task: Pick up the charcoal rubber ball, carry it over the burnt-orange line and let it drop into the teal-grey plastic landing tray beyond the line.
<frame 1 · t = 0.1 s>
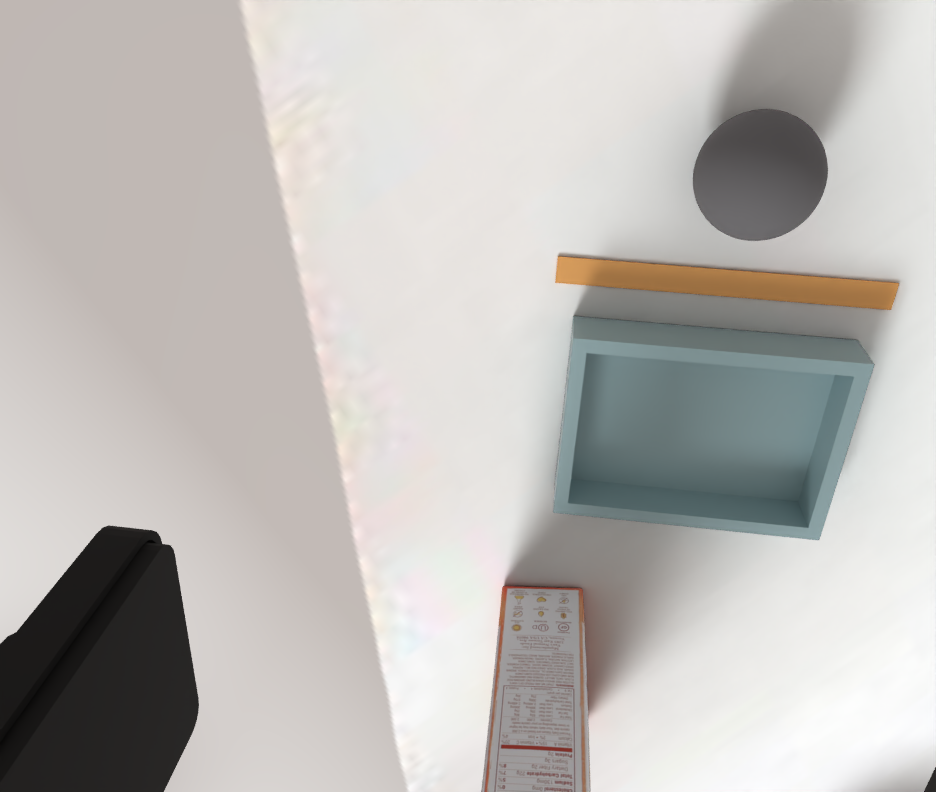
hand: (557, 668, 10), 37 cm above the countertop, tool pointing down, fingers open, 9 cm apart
ball: (747, 161, 42), on the countertop
landing tray: (695, 417, 49), on the countertop
cracker box: (546, 655, 60), on the countertop
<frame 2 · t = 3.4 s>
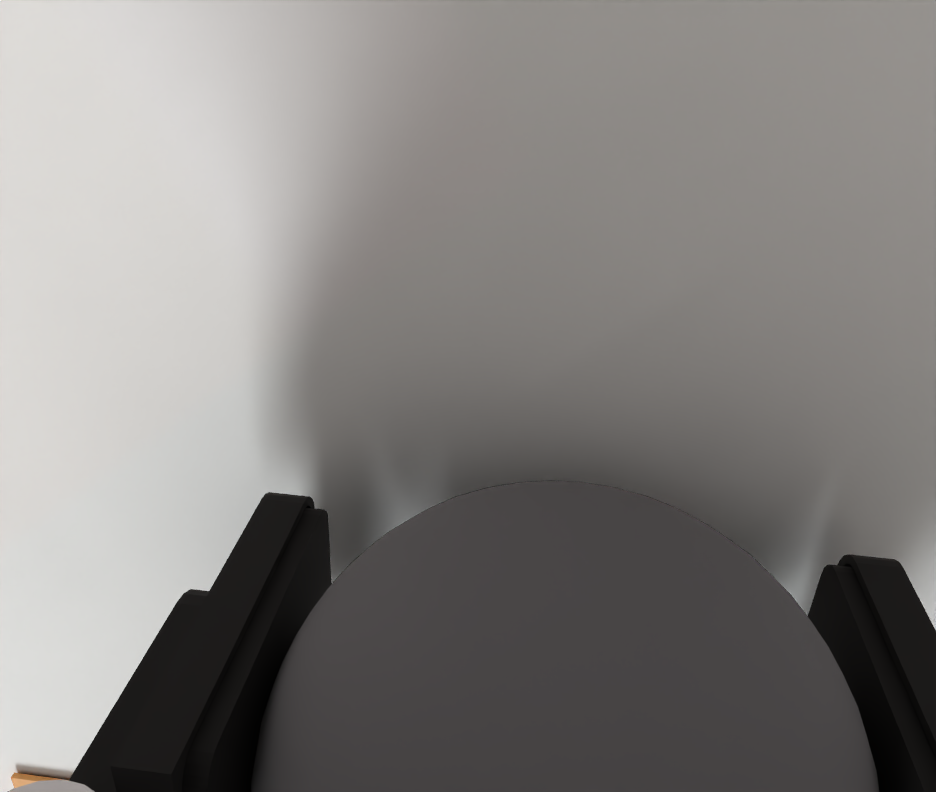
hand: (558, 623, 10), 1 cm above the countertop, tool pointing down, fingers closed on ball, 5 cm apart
ball: (560, 578, 11), on the countertop, touching gripper
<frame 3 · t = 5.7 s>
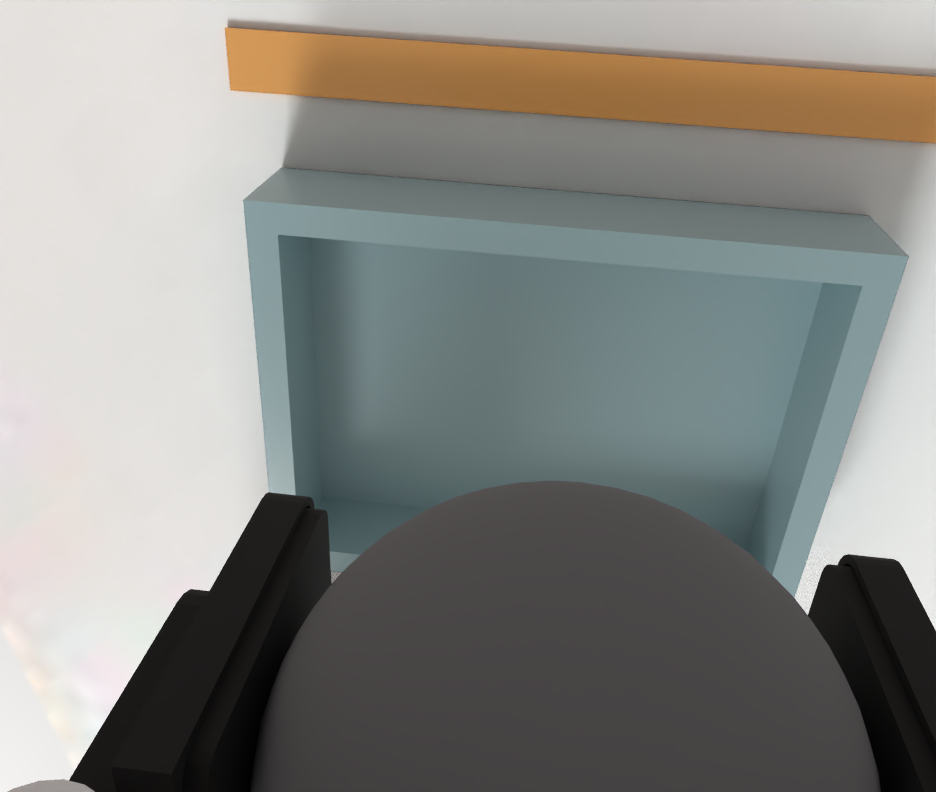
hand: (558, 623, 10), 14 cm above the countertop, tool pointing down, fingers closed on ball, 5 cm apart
ball: (560, 579, 11), point 14 cm above the countertop, touching gripper
landing tray: (546, 381, 25), on the countertop
when the fingers open (4 cm above the countertop, at t = 8.1 s): ball drops 2 cm, resting on landing tray.
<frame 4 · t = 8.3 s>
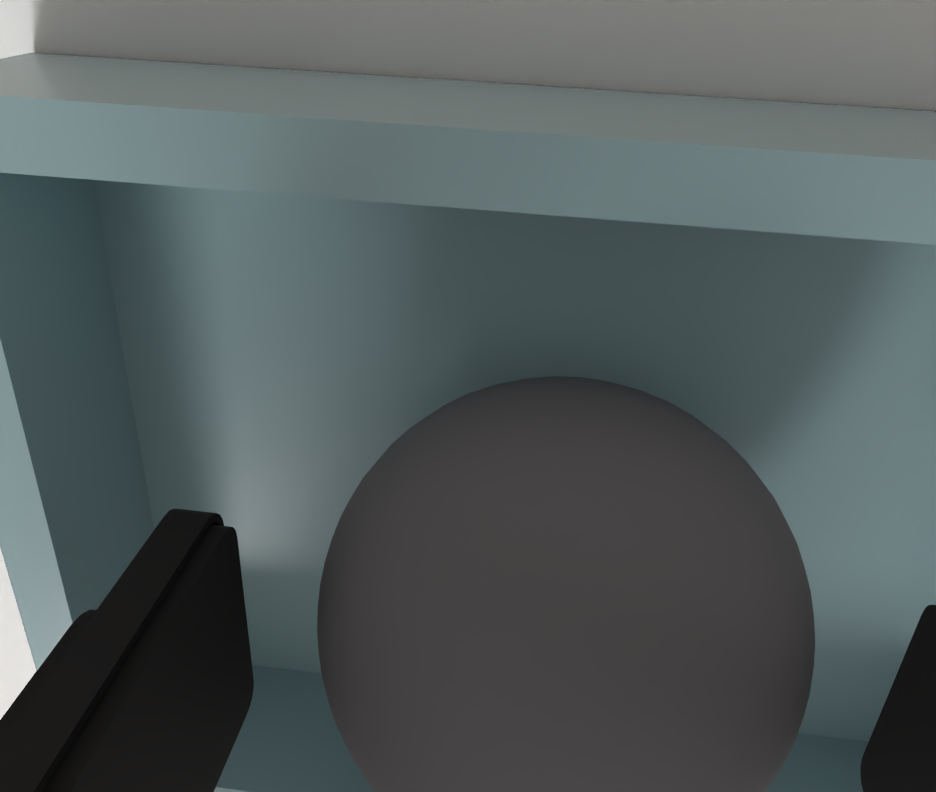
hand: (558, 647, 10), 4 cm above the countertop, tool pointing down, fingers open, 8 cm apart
ball: (562, 478, 13), resting on landing tray
landing tray: (563, 466, 13), on the countertop
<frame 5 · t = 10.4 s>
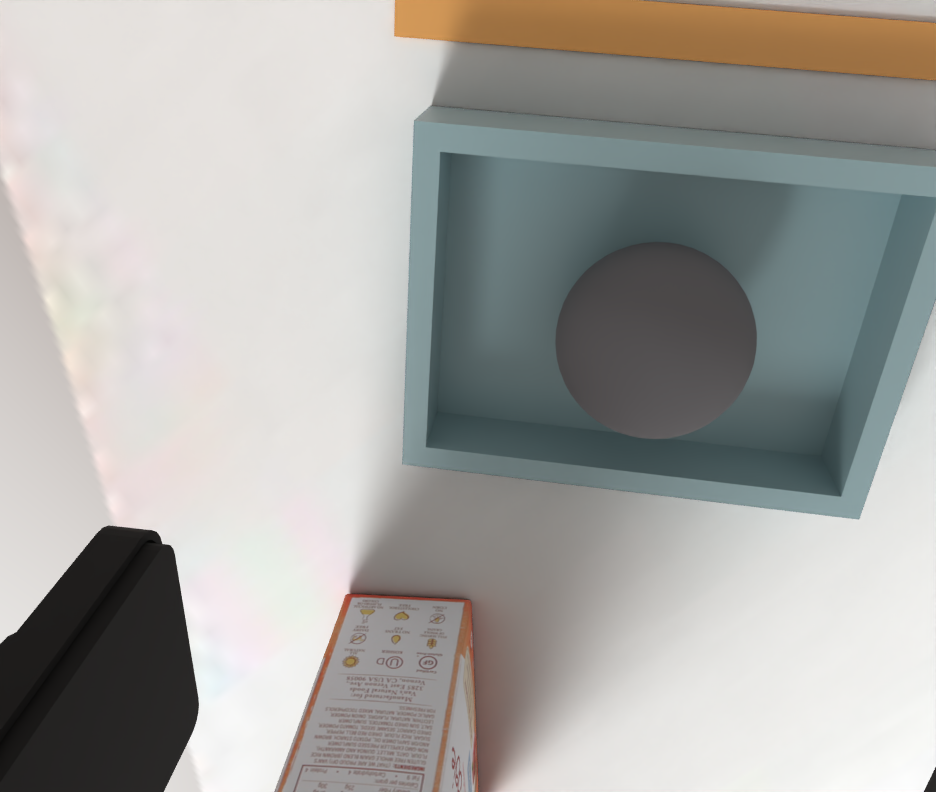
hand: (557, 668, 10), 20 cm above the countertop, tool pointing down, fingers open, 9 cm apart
ball: (648, 305, 28), resting on landing tray
landing tray: (647, 302, 28), on the countertop
cracker box: (422, 704, 39), on the countertop
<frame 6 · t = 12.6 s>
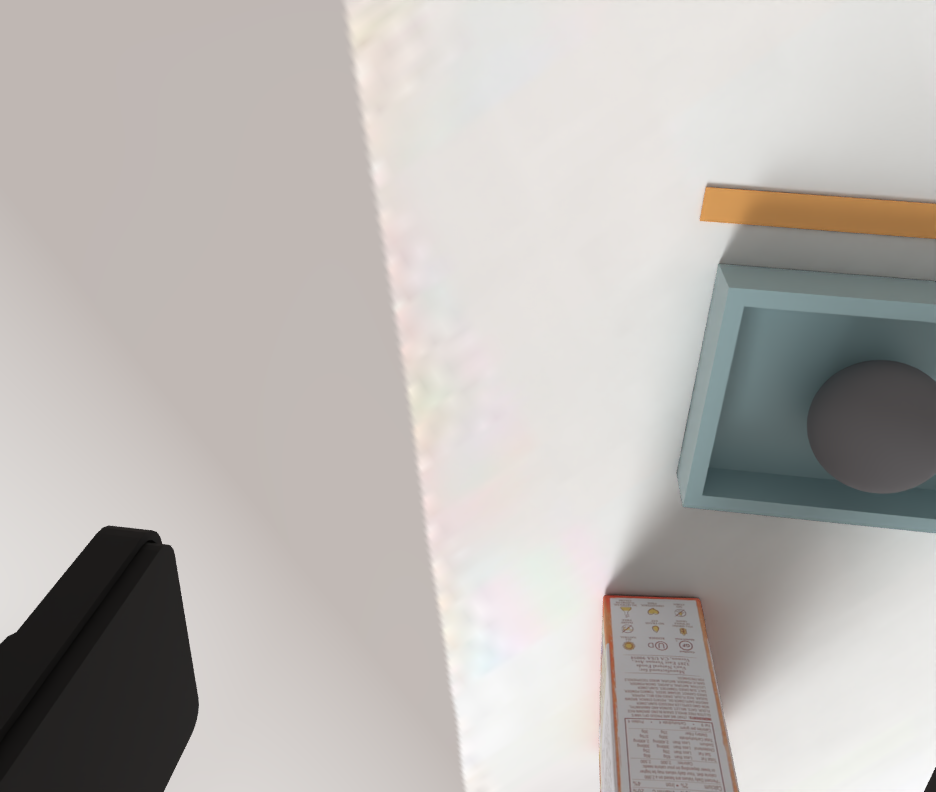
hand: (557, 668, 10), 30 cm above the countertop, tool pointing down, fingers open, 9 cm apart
ball: (861, 393, 40), resting on landing tray
landing tray: (859, 390, 40), on the countertop
cracker box: (648, 676, 51), on the countertop
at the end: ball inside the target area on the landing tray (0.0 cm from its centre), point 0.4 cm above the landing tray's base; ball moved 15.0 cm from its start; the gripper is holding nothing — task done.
